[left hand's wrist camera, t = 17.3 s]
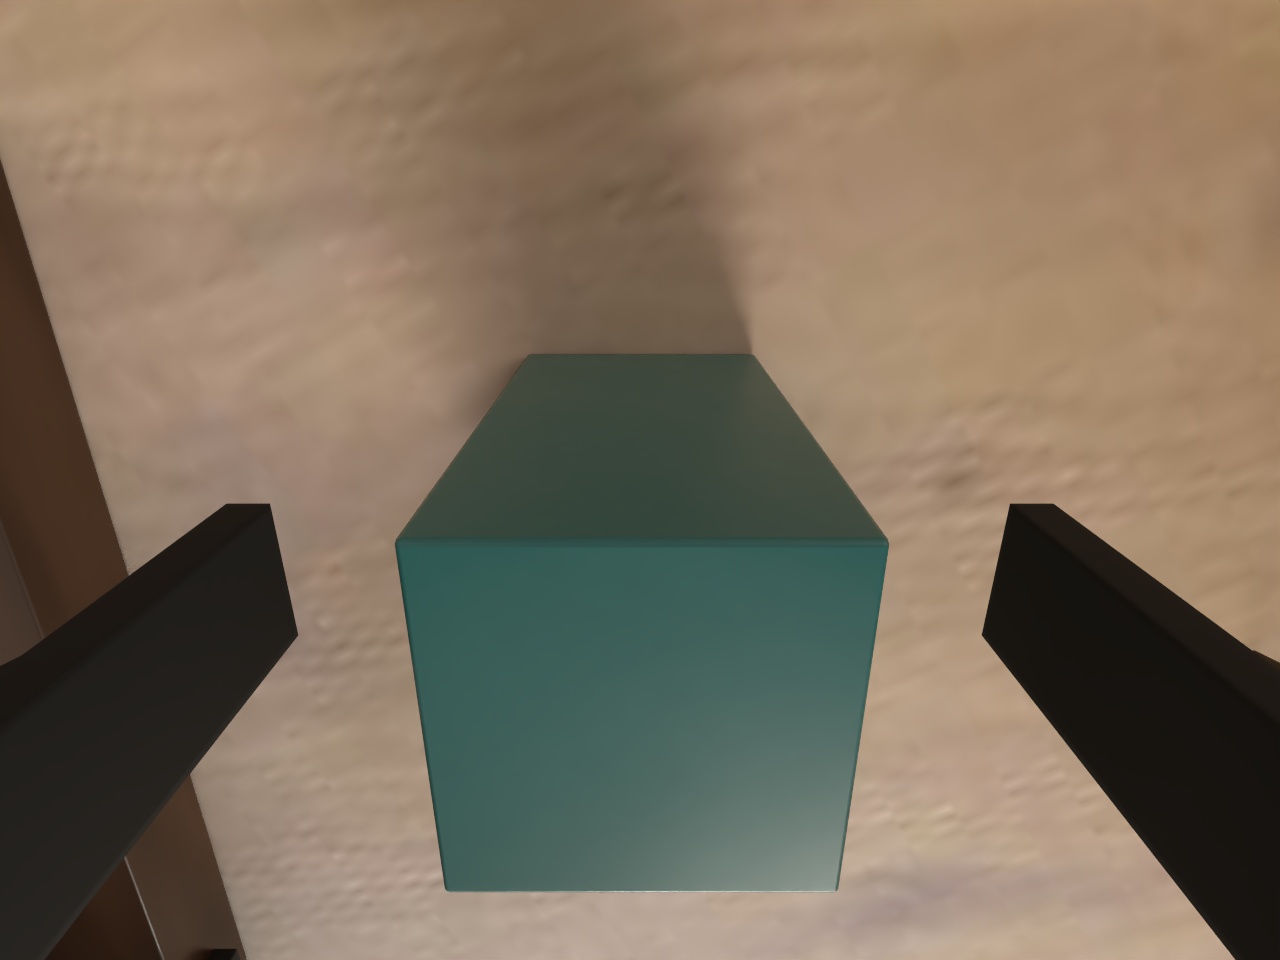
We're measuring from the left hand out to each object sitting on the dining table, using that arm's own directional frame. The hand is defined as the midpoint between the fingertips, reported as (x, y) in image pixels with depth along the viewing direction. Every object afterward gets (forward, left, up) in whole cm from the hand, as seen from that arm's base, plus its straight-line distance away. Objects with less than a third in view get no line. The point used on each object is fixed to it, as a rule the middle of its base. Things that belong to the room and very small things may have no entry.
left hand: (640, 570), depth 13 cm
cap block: (0, 0, -6) cm, 6 cm away
